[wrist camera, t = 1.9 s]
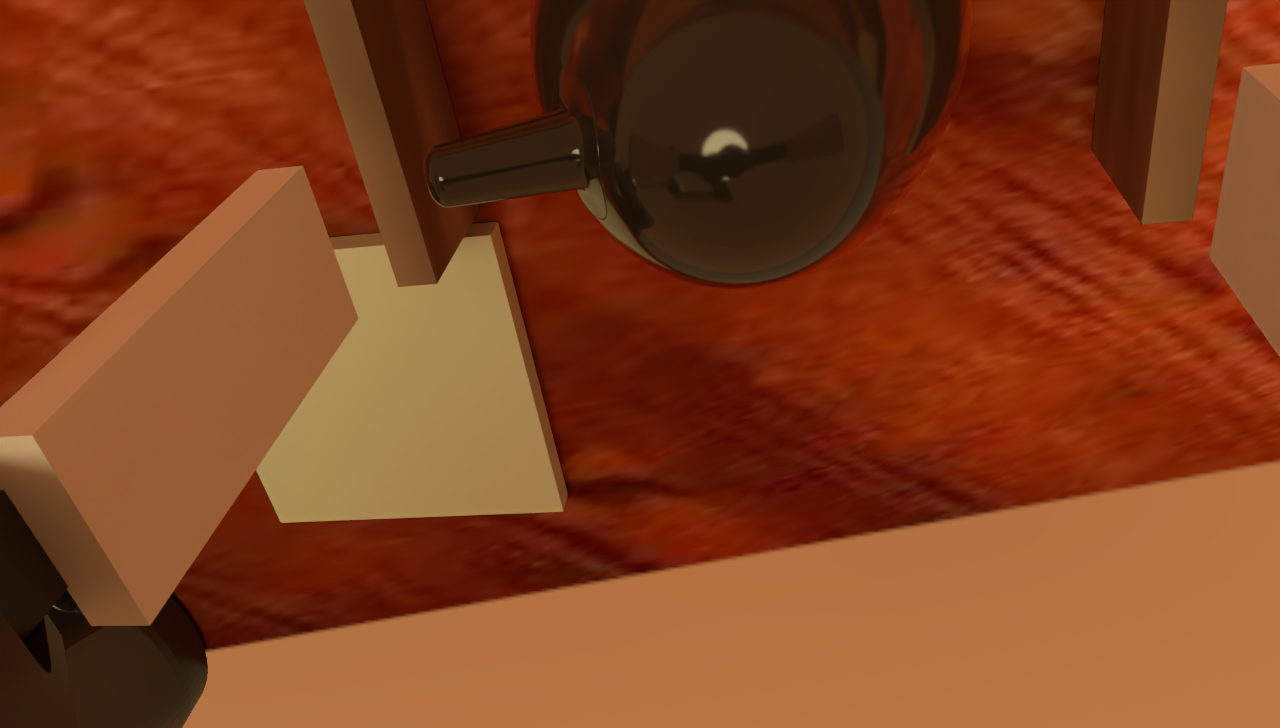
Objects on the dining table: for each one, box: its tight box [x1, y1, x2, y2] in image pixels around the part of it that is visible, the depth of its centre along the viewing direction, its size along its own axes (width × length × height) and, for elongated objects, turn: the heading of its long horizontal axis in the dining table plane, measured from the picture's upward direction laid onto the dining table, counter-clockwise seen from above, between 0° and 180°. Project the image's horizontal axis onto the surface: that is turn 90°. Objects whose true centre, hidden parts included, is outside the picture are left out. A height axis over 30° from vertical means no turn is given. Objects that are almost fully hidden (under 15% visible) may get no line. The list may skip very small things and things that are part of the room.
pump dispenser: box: [424, 0, 973, 289], centre depth 22 cm, size 10×10×15 cm
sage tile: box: [256, 222, 568, 523], centre depth 37 cm, size 12×12×1 cm
